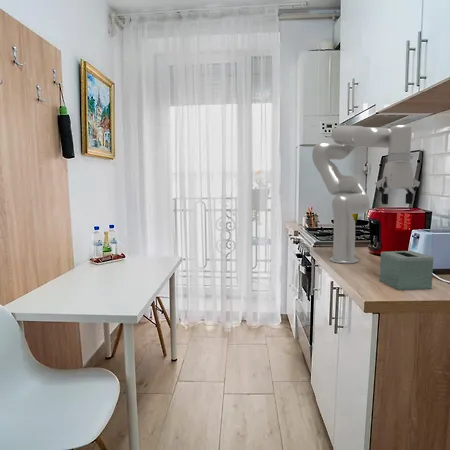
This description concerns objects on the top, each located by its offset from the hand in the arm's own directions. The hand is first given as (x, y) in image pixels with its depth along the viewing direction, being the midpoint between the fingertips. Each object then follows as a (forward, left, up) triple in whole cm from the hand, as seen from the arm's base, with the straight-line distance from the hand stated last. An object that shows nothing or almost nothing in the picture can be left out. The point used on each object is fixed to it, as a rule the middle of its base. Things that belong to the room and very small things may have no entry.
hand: (396, 204), depth 134 cm
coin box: (+12, -3, -28) cm, 31 cm away
